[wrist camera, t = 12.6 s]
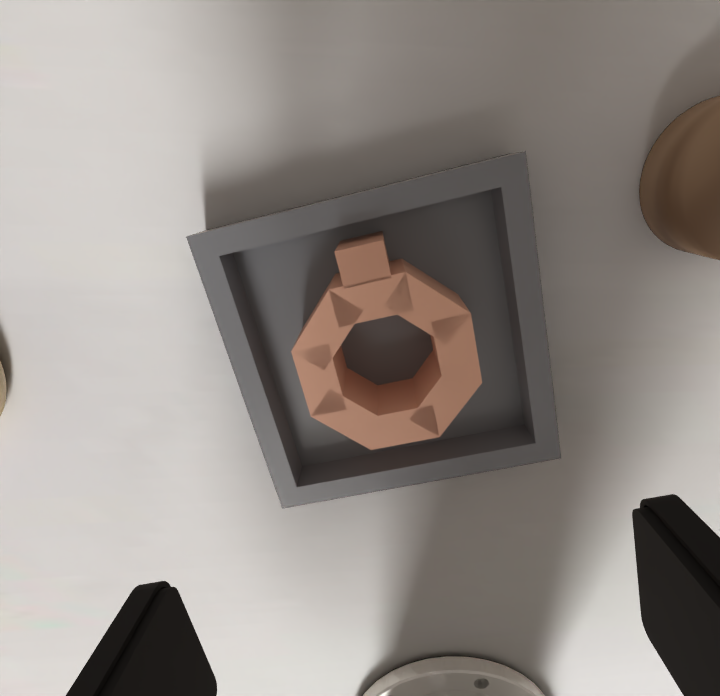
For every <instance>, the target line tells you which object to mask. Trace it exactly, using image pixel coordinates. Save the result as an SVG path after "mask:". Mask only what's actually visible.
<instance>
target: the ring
mask: <svg viewBox="0 0 720 696" xmlns="http://www.w3.org/2000/svg"><path fill="white" fill-rule="evenodd" d="M334 252H335V256H336V260H337V264H338V268H339V272H340V273H337V274H335V275H334V277H333V279H332V280H331V282H330V283H329V285H328V287H327V288H326V290H325V292H324V293H323V295H322V297H321V298H320V300H319V302H318V303H317V305H316V307H315V308H314V310H313V312H312V313H311V315H310V317H309V318H308V320H307V322H306V323H305V325H304V326H303V328H302V330H301V332H300V334H299V336H298V338H297V340H296V342H295V345H294V347H293V349H292V351H291V353H292V356H293V360H294V363H295V366H296V369H297V373H298V376H299V379H300V383H301V386H302V389H303V393H304V396H305V399H306V403H307V406H308V409H309V412H310V416H311V417H312V418H314V419H316V420H318V421H320V422H321V423H323V424H325V425H327V426H329V427H330V428H332V429H334V430H336V431H338V432H339V433H341V434H343V435H345V436H347V437H348V438H350V439H352V440H354V441H356V442H357V443H359V444H361V445H363V446H365V447H366V448H368V449H370V450H374V449H379V448H385V447H390V446H395V445H401V444H406V443H411V442H417V441H422V440H427V439H433V438H438V437H440V436H441V435H442V434H443V432H444V431H445V430H446V428H447V427H448V426H449V425H450V423H451V422H452V421H453V420H454V418H455V417H456V416H457V414H458V413H459V412H460V411H461V409H462V408H463V407H464V405H465V404H466V403H467V402H468V400H469V399H470V398H471V396H472V395H473V394H474V393H475V391H476V390H477V389H478V387H479V386H480V385H481V384H482V378H481V372H480V366H479V360H478V354H477V347H476V341H475V335H474V329H473V323H472V317H471V313H470V311H469V310H468V308H467V307H466V305H465V304H464V302H463V301H462V299H461V298H460V296H459V295H458V294H457V293H455V292H454V291H452V290H450V289H449V288H447V287H446V286H444V285H443V284H441V283H439V282H438V281H436V280H435V279H433V278H432V277H430V276H428V275H427V274H425V273H424V272H422V271H421V270H419V269H417V268H416V267H414V266H413V265H411V264H410V263H408V262H406V261H405V260H403V259H397V260H393V261H389V259H388V255H387V250H386V245H385V241H384V236H383V232H382V231H380V232H375V233H371V234H367V235H363V236H359V237H354V238H350V239H346V240H342V241H340V242H339V244H338V246H337V248H336V250H335V251H334ZM393 315H399V316H401V317H402V318H404V319H406V320H407V321H409V322H410V323H412V324H414V325H415V326H417V327H419V328H420V329H422V330H424V331H425V332H427V333H428V334H430V336H431V342H432V347H433V351H432V352H431V353H430V355H429V356H428V358H427V359H426V360H425V362H424V363H423V364H422V366H421V367H420V369H419V370H418V371H417V373H416V374H415V376H414V377H413V378H411V379H406V380H401V381H397V382H392V383H387V384H382V385H376V384H374V383H373V382H371V381H369V380H367V379H366V378H364V377H362V376H361V375H359V374H357V373H355V372H354V371H352V370H350V369H349V368H347V366H346V362H345V358H344V354H343V351H342V347H341V344H342V343H343V341H344V340H345V338H346V336H347V335H348V333H349V332H350V330H351V329H352V327H353V326H354V324H356V323H361V322H365V321H370V320H375V319H379V318H384V317H388V316H393Z"/></svg>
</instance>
